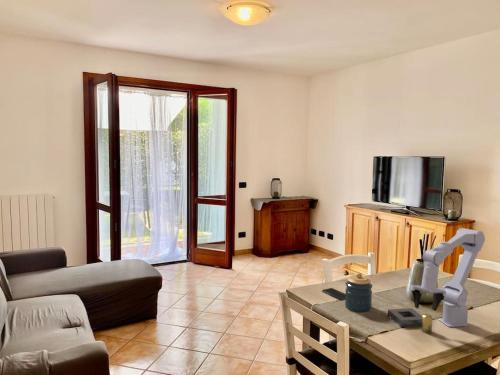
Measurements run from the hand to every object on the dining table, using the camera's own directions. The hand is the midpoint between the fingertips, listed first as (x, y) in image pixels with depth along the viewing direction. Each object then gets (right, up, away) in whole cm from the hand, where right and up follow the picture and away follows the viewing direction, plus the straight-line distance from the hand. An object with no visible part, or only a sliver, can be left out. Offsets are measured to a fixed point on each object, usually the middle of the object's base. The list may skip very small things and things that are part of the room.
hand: (425, 308), depth 163 cm
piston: (+1, -10, +1) cm, 10 cm away
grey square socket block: (-4, -9, +11) cm, 15 cm away
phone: (-29, -7, +43) cm, 52 cm away
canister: (-22, -8, +26) cm, 35 cm away
